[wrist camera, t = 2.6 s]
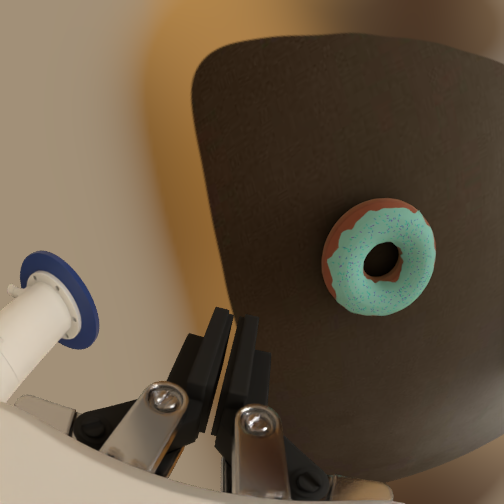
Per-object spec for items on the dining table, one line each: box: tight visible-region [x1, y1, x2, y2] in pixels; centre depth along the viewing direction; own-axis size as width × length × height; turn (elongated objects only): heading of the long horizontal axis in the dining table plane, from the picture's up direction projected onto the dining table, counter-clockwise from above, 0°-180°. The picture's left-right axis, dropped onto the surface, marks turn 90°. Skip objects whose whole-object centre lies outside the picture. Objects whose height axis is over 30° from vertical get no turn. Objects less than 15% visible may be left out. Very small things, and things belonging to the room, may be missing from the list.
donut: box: [322, 198, 436, 316], centre depth 25 cm, size 12×12×4 cm
